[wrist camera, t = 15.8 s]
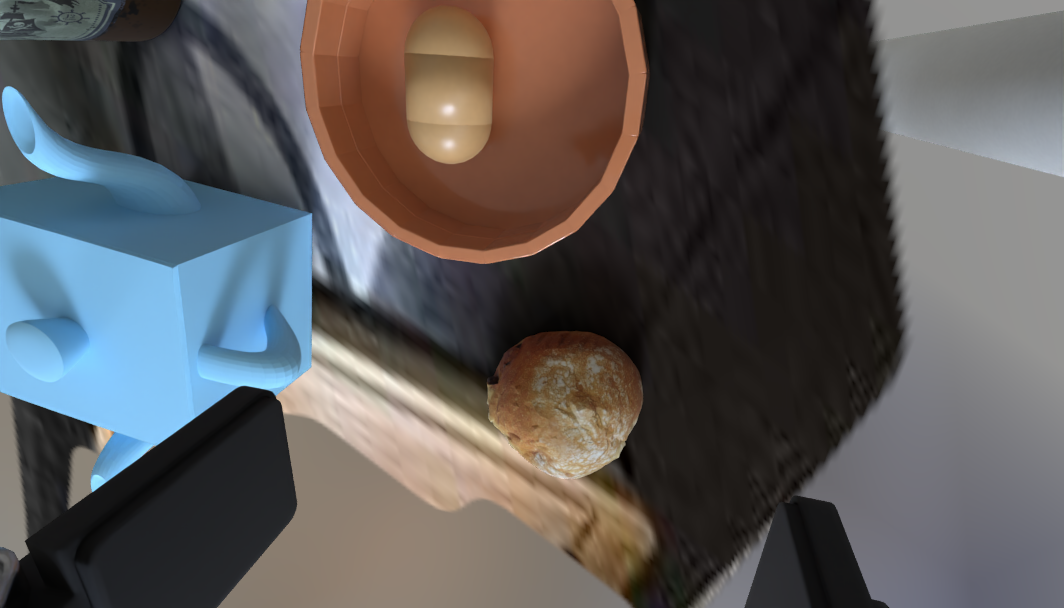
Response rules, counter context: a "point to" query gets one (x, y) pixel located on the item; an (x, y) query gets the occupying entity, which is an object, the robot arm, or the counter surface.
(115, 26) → the olive oil
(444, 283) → the counter surface
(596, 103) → the terracotta dish
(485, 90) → the potato
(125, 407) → the light blue teapot
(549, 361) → the bread roll
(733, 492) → the counter surface
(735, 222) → the counter surface
